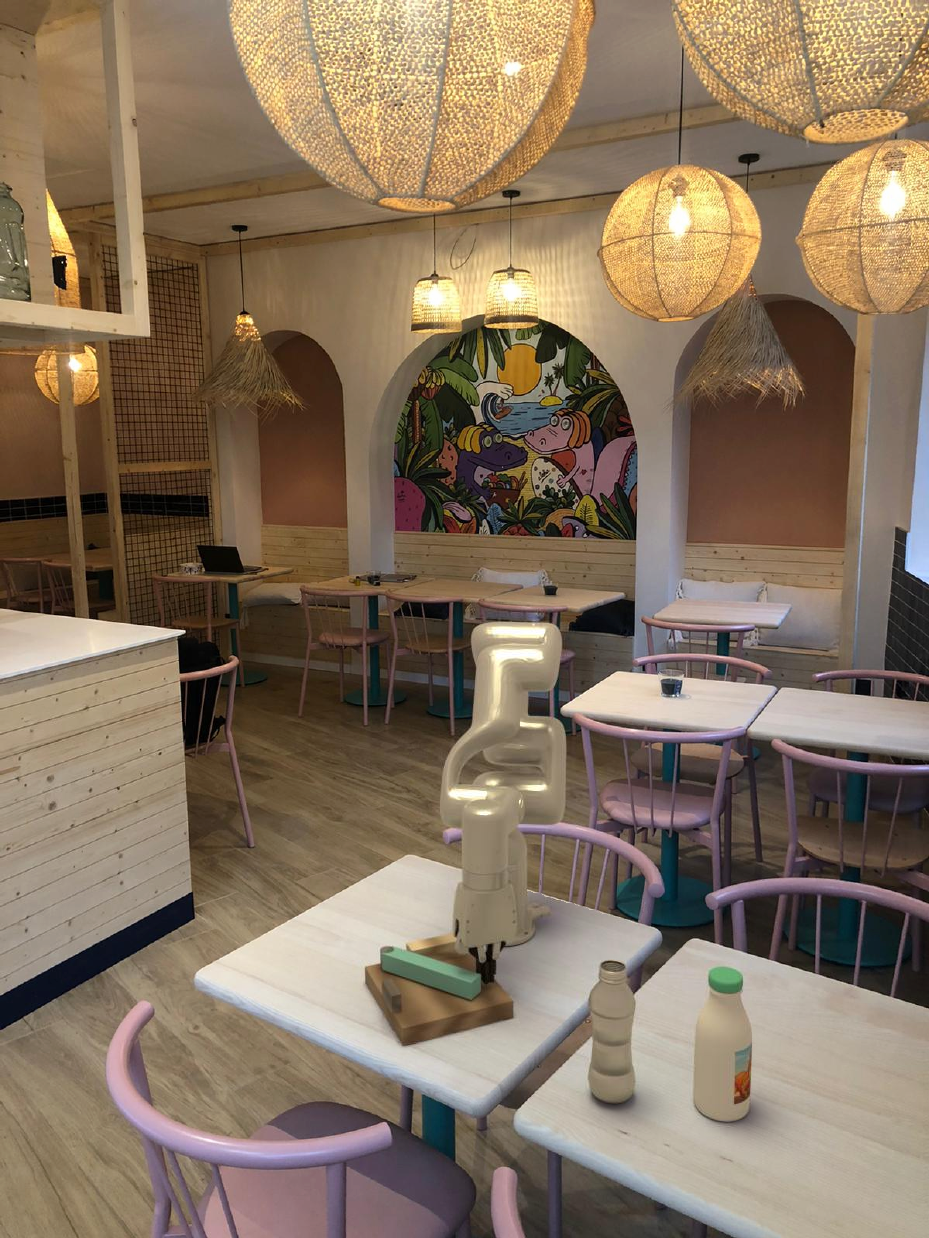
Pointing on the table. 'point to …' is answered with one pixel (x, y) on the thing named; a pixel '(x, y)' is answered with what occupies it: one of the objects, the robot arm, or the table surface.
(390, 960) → the folding leg
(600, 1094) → the plastic bottle
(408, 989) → the stool seat
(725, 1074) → the milk bottle
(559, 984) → the table surface
